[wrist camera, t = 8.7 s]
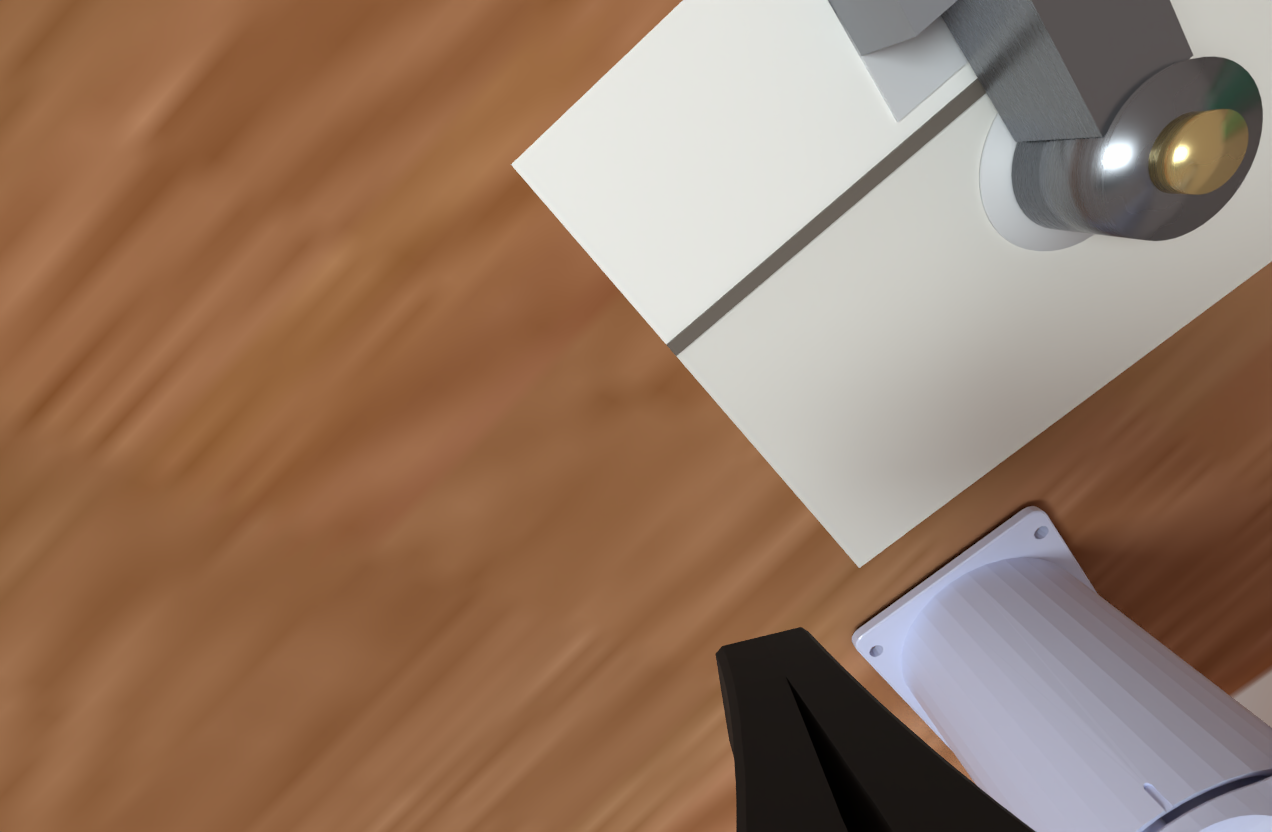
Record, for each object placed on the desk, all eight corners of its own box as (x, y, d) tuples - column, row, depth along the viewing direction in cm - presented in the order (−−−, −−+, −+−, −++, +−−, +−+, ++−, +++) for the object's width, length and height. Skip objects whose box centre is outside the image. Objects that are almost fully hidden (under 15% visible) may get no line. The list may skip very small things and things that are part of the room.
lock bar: (1165, 158, 16) (1316, 155, 13) (1051, 258, 17) (1168, 279, 13) (958, -272, 12) (1102, -424, 9) (818, -121, 13) (908, -215, 10)
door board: (1519, 43, 18) (1730, 16, 14) (845, 550, 21) (898, 617, 18) (1428, -710, 12) (1750, -1029, 9) (513, 164, 15) (505, 164, 12)
